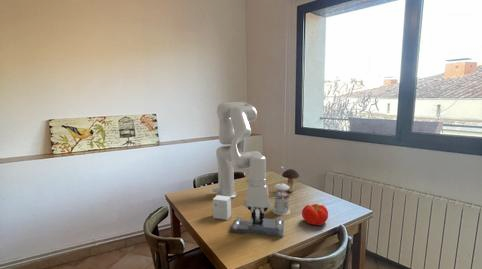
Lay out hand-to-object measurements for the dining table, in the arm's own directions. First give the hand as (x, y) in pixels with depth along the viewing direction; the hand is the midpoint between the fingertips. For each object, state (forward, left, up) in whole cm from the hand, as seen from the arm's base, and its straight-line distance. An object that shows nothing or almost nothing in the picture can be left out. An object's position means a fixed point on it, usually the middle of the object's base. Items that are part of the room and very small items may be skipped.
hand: (257, 219), depth 126 cm
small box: (-20, +10, -6) cm, 23 cm away
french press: (+10, +23, -6) cm, 26 cm away
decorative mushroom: (+14, +51, -6) cm, 53 cm away
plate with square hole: (0, 0, -5) cm, 5 cm away
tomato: (+27, +12, -6) cm, 30 cm away
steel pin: (0, 0, -3) cm, 3 cm away
